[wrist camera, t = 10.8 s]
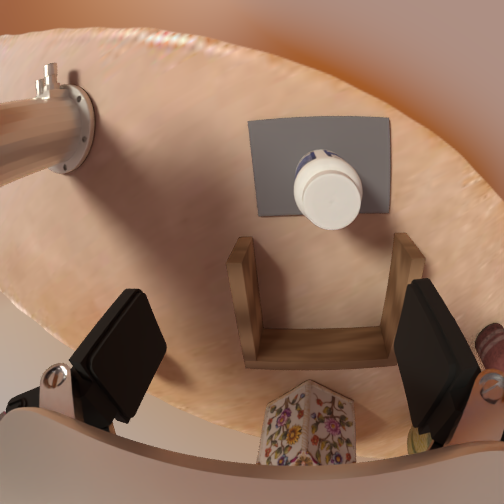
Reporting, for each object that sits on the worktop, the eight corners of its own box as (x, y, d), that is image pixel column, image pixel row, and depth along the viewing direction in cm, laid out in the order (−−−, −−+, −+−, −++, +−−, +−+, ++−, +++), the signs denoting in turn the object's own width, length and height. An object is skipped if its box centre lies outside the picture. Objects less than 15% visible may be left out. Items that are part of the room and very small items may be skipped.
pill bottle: (301, 205, 28) (301, 246, 19) (289, 154, 26) (283, 172, 17) (352, 196, 27) (375, 233, 18) (342, 144, 24) (364, 156, 16)
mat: (248, 121, 25) (247, 121, 25) (387, 117, 23) (388, 117, 22) (258, 215, 30) (258, 216, 29) (387, 211, 27) (388, 213, 27)
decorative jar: (264, 403, 46) (247, 489, 30) (308, 376, 40) (300, 480, 24) (311, 423, 47) (305, 501, 31) (355, 400, 42) (359, 489, 26)
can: (485, 319, 30) (521, 384, 18) (506, 322, 30) (539, 381, 17) (467, 347, 33) (494, 412, 21) (488, 348, 33) (515, 407, 20)
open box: (239, 237, 31) (225, 263, 26) (406, 233, 27) (425, 258, 22) (253, 336, 38) (245, 368, 32) (387, 333, 34) (396, 365, 29)
